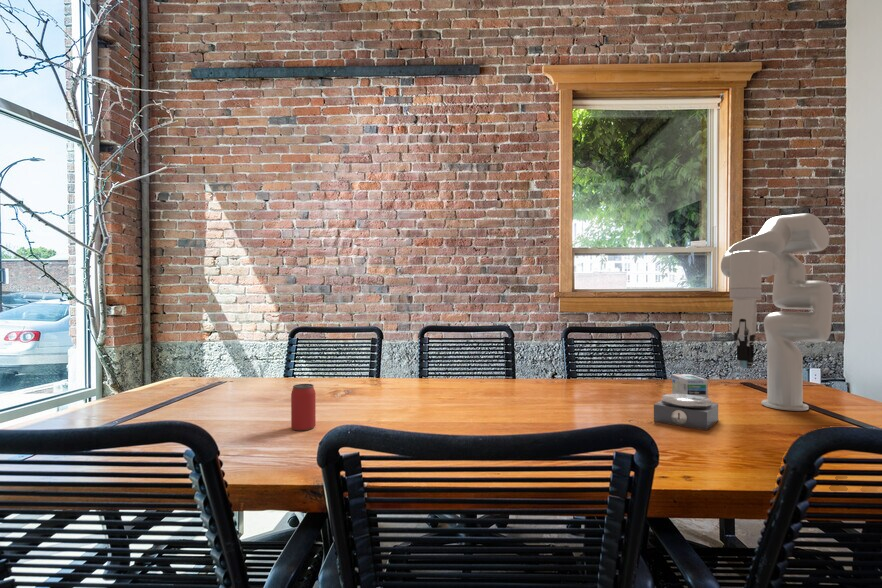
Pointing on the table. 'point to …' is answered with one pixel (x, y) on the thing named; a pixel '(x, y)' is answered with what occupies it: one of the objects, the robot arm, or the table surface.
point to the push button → (739, 362)
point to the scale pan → (686, 400)
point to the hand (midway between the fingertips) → (745, 358)
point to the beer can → (303, 407)
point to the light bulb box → (689, 385)
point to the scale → (686, 415)
